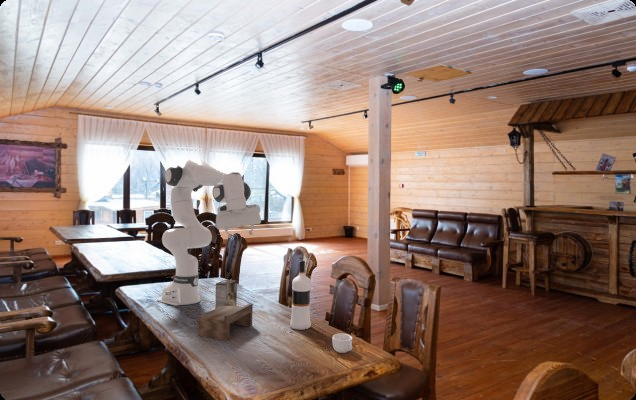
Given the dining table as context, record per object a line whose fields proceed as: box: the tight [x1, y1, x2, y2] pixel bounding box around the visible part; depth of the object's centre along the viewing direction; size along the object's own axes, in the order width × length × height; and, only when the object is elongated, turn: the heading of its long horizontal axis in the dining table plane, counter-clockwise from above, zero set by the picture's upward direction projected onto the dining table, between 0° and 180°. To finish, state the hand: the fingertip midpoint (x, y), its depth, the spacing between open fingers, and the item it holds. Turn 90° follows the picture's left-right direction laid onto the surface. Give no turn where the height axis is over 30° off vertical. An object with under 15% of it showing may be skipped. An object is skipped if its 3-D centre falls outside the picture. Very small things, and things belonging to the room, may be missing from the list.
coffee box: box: [214, 279, 238, 309], centre depth 202 cm, size 9×6×16 cm
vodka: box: [289, 260, 312, 331], centre depth 188 cm, size 9×9×30 cm
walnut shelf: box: [197, 303, 254, 342], centre depth 181 cm, size 14×20×10 cm
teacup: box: [331, 333, 353, 354], centre depth 162 cm, size 10×8×5 cm
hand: (240, 236), depth 191 cm, fingers open, 8 cm apart
